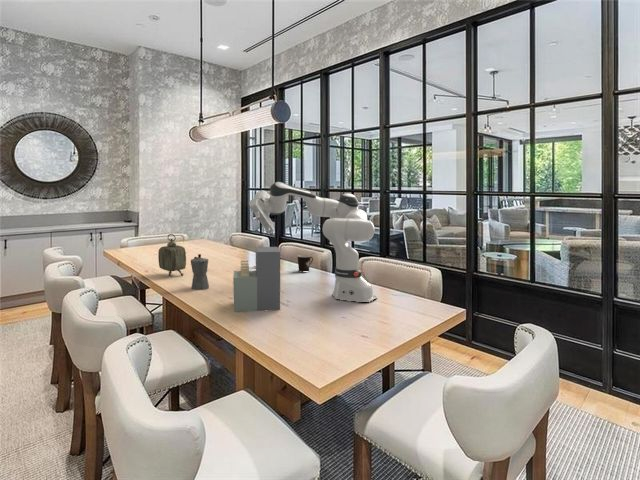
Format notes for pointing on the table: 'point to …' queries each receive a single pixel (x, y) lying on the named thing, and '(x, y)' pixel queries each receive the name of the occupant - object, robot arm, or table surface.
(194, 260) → the coffeepot
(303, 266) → the coffee mug
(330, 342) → the table surface
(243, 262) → the batten
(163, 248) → the tabletop clock
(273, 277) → the step stand
